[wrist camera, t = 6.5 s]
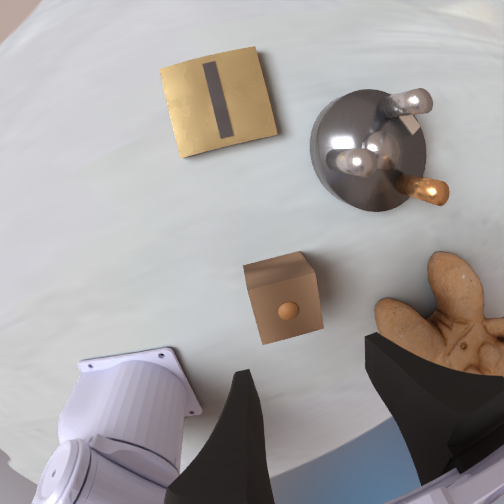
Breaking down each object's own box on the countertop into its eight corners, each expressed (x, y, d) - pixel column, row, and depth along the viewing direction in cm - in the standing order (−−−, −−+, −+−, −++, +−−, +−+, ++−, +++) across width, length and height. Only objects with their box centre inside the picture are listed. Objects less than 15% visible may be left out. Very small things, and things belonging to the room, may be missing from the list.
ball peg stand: (362, 229, 21) (406, 256, 15) (284, 146, 18) (310, 144, 13) (427, 156, 19) (480, 162, 14) (361, 73, 17) (407, 51, 11)
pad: (182, 158, 18) (180, 158, 17) (162, 73, 16) (159, 68, 15) (275, 135, 18) (278, 134, 17) (253, 51, 16) (255, 45, 15)
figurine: (442, 228, 21) (576, 333, 9) (453, 282, 27) (547, 369, 14) (354, 318, 23) (472, 462, 10) (383, 353, 28) (467, 457, 16)
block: (256, 313, 22) (262, 345, 18) (243, 265, 21) (247, 290, 17) (308, 300, 22) (324, 329, 18) (299, 250, 21) (315, 272, 17)
